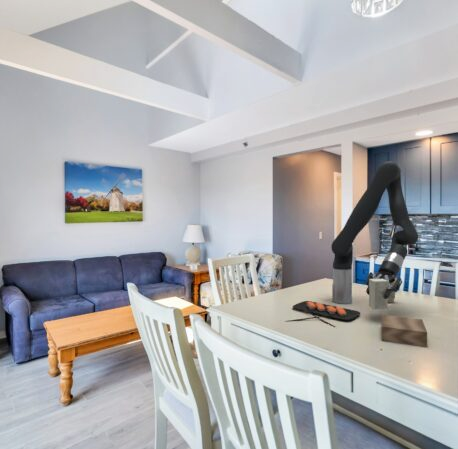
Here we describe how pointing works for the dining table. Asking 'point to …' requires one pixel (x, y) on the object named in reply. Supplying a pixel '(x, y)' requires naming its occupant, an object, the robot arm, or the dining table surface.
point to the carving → (391, 295)
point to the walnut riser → (403, 330)
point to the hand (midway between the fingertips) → (376, 295)
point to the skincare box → (377, 293)
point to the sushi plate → (325, 311)
